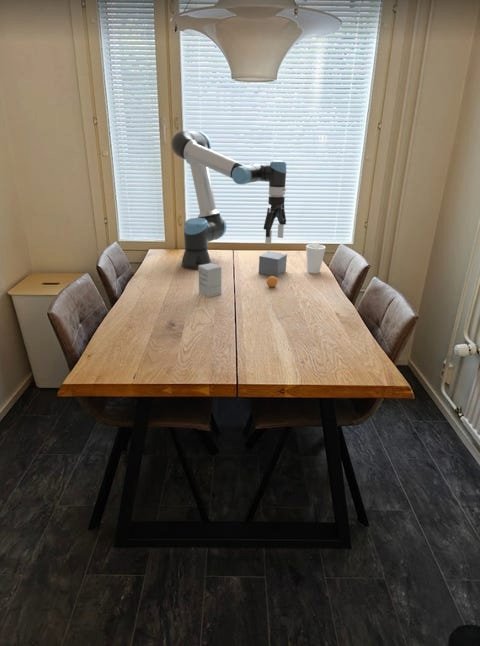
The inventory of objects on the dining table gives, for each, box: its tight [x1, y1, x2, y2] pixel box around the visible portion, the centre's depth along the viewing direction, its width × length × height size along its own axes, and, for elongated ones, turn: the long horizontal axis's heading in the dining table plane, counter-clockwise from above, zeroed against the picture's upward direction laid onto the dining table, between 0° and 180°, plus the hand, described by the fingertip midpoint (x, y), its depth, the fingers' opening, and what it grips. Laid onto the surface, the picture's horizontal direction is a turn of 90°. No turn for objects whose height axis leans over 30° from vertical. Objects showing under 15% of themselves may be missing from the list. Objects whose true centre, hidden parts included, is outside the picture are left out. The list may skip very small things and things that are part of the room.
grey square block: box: [258, 250, 288, 278], centre depth 220 cm, size 10×10×9 cm
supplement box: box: [198, 262, 222, 298], centre depth 190 cm, size 7×7×13 cm
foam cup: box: [305, 243, 326, 274], centre depth 222 cm, size 10×9×13 cm
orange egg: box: [266, 275, 278, 288], centre depth 201 cm, size 5×5×5 cm
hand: (274, 240), depth 215 cm, fingers open, 13 cm apart
